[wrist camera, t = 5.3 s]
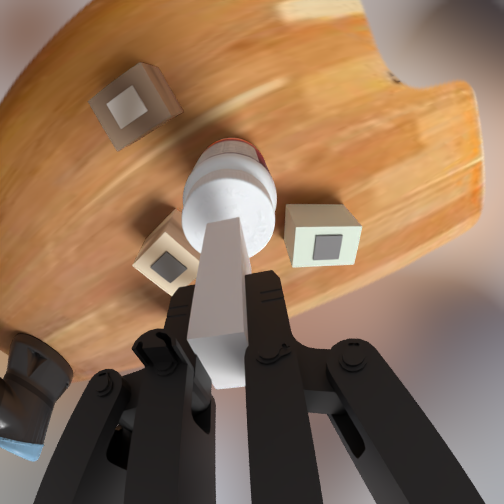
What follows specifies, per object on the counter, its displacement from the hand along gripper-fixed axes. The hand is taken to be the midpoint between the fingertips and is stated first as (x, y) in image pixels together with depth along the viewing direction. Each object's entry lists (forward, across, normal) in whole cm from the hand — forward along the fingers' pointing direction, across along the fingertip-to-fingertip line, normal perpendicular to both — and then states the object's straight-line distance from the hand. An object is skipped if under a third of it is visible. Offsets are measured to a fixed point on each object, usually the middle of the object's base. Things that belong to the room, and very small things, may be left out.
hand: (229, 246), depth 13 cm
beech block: (+14, -7, -6) cm, 17 cm away
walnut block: (+14, -6, +8) cm, 17 cm away
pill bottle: (+14, 0, 0) cm, 14 cm away
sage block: (+14, +7, -7) cm, 17 cm away
